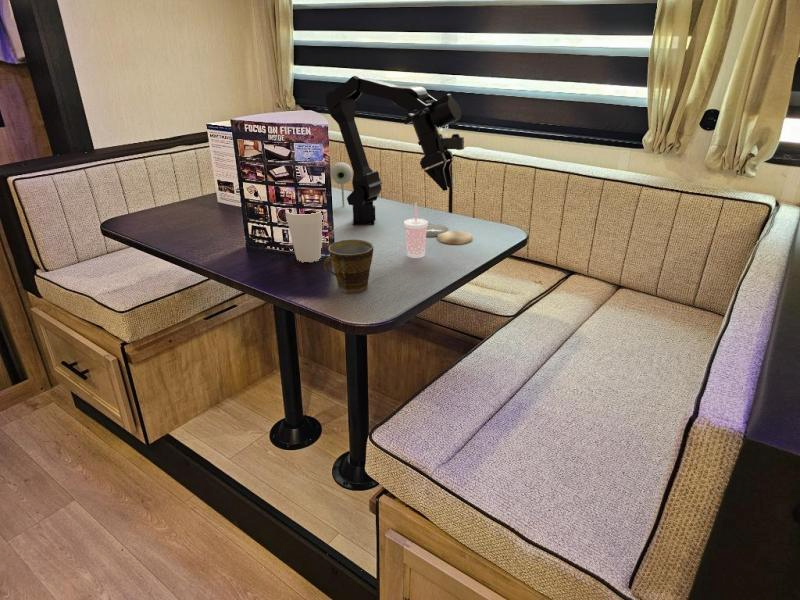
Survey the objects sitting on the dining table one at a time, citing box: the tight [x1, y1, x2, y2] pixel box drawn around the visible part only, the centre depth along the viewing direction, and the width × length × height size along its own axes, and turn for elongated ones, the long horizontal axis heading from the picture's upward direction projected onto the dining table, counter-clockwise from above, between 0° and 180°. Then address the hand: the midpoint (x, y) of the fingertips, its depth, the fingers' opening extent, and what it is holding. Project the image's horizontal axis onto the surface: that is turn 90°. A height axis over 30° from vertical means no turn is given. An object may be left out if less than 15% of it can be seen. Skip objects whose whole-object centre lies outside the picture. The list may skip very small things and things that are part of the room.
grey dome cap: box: [426, 223, 449, 238], centre depth 160 cm, size 10×10×1 cm
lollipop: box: [330, 161, 353, 207], centre depth 182 cm, size 7×7×15 cm
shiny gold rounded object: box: [436, 230, 473, 245], centre depth 154 cm, size 10×10×1 cm
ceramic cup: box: [323, 239, 375, 295], centre depth 121 cm, size 13×10×10 cm
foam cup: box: [284, 209, 324, 263], centre depth 139 cm, size 10×9×13 cm
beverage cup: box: [403, 202, 429, 259], centre depth 140 cm, size 6×6×14 cm
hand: (448, 188), depth 149 cm, fingers open, 9 cm apart
